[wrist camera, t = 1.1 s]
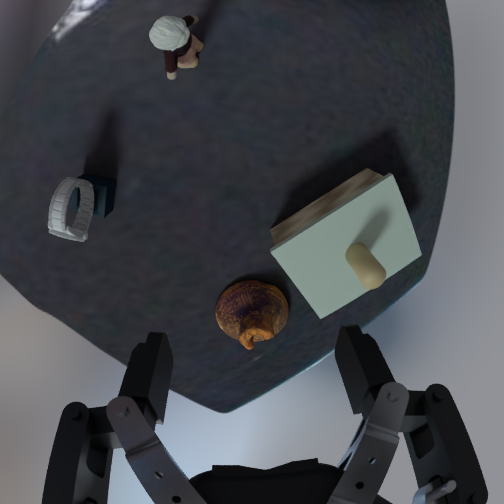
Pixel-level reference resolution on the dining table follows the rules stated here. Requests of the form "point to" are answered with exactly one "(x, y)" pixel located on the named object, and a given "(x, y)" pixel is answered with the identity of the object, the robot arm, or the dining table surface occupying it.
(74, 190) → the watch
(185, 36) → the grandmother figurine
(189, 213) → the dining table surface
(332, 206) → the box
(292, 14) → the dining table surface
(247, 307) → the brown rounded piece
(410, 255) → the lid
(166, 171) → the dining table surface
